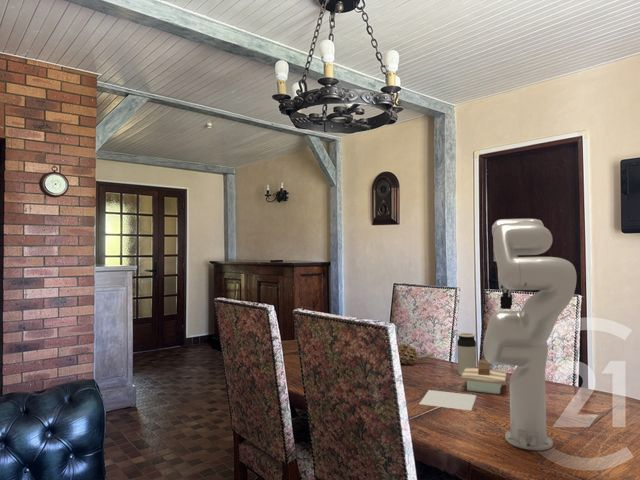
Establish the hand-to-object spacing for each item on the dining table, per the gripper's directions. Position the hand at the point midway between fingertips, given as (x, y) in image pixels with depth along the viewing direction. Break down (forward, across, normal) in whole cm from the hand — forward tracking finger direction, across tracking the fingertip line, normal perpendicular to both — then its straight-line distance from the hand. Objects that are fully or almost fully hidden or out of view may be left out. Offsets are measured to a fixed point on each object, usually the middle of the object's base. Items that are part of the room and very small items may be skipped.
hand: (506, 307), depth 157 cm
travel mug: (+36, +46, +19) cm, 62 cm away
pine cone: (+36, +56, +46) cm, 81 cm away
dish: (+36, +26, +10) cm, 46 cm away
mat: (+36, +6, +21) cm, 42 cm away
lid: (+31, +26, +10) cm, 42 cm away
